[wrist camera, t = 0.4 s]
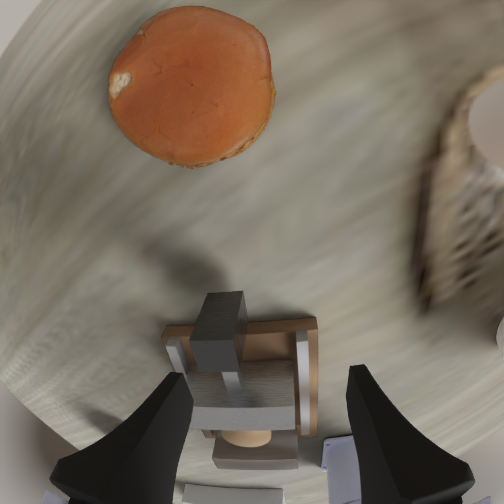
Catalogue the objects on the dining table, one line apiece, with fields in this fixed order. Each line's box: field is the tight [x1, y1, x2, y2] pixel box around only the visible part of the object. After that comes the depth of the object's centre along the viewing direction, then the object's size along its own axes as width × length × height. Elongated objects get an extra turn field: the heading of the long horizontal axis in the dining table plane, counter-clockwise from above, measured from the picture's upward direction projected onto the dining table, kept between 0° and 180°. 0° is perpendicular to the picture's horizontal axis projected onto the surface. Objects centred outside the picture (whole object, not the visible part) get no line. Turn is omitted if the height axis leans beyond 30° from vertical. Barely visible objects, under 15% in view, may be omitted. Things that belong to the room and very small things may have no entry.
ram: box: [186, 291, 295, 431], centre depth 19 cm, size 9×8×5 cm
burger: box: [109, 6, 276, 169], centre depth 14 cm, size 10×9×5 cm
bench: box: [161, 317, 318, 470], centre depth 23 cm, size 15×12×6 cm
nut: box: [221, 430, 271, 447], centre depth 22 cm, size 4×4×4 cm
